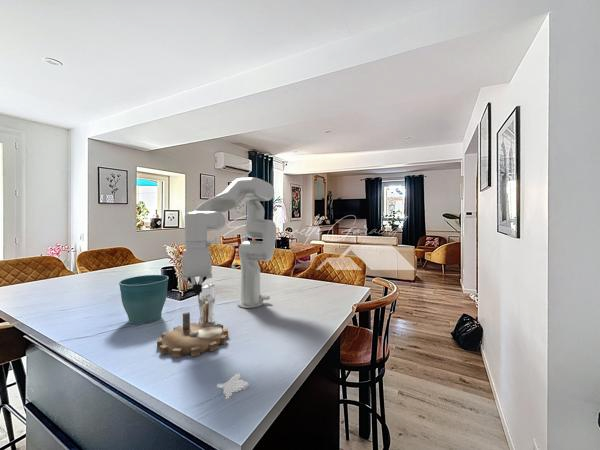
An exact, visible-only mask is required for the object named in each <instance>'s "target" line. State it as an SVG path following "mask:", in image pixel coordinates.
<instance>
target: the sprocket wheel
mask: <svg viewBox="0 0 600 450" xmlns="http://www.w3.org/2000/svg"><path fill="white" fill-rule="evenodd" d="M228 337H229V329H228V328H227V327H226V328H224V325H223V324H221V323H217V324H214V323H212V322H205V323H202V324H199V323H197V322H191V314H190V312H187V311H186V312H182V325H177V326H175V327H173V329H172V330H170V331H164V332H163V333H161V337H160V338H157V339H156V348H157V349H158V350H159V351H158V352H159V354H161V355H166V354H171V357H172V358H181V357H182V356H189V355H190V356H191V357H196V356H201V353H205V352H207V351H209V352H213V351H217V350H218V348H219V347H218V346H219V345H222V344H223V345H224V344H226V343H227V341H228Z"/></svg>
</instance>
